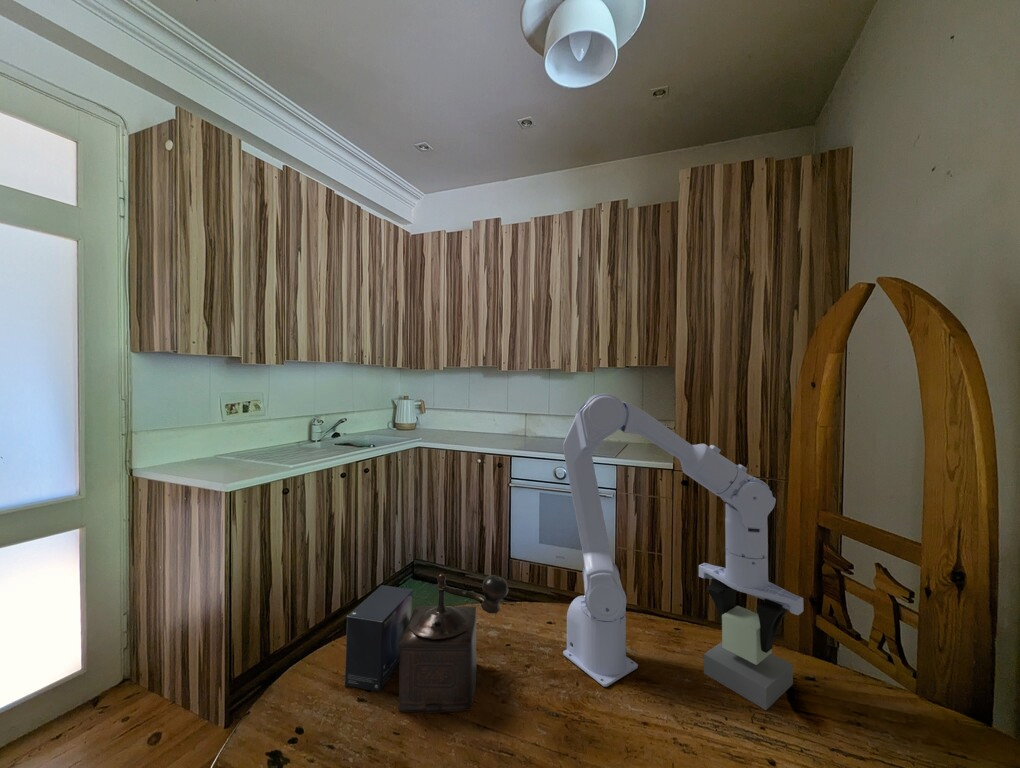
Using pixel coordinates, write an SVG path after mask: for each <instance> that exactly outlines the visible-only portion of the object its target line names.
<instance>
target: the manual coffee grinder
mask: <svg viewBox="0 0 1020 768" xmlns="http://www.w3.org/2000/svg"><path fill="white" fill-rule="evenodd" d="M446 579H447V576H446V574H444V573H439V575H438V576H437V585H436V589H437V591H438V599H437V600H438V601H437V602H438V603H437V605H416V607H415V608H414V610H413V611H412V616H411V618H410V620H409V623H408V625H407V627H406V629H405V631H404V633H403V636H402V638H401V640H400V644H399V650H400V654H399V666H398V671H399V672H398V675H399V678H398V683H399V684H398V685H399V686H398V695H399V696H398V697H399V698H398V712H406V713H407V712H409V713H421V714H441V713H459V712H464V711H470V710H471V709H472V706H473V702H474V699H475V691H476V683H477V675H478V670H477V669H478V668H477V666H478V665H477V639H476V638H477V606H461V605H460V606H458V605H457V606H456V605H455V606H453V605H452V606H451V605H445V595H446V594H445V592H446V593H447V594H450V595H454V596H458V597H463V598H467V599H470V600H474V601H477V602H479V603H480V606H481V609H482V610H483V611H484V612H486V613H487V614H493V615H494V614H498V612H500V611H501V606H500V602H501V601H502V600H503V599H504V598H505V597H507V595H508V593H509V586H508V582H507V580H505V579H504V578H503V577H501V576H499V575H496V574H491V575H488V576H486V577H485V579H484V580H483V581H482V586H481V591H482V592H483V594H484V595H482V594H479V593H476V592H472V591H470V590H464V589H461V588H456V587H452V586H449V585H447V583H446Z"/></svg>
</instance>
